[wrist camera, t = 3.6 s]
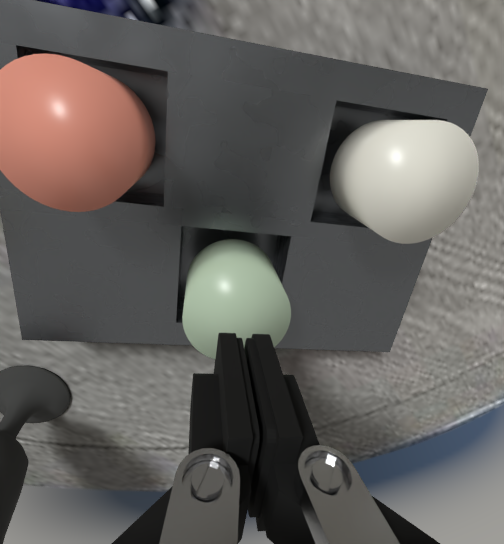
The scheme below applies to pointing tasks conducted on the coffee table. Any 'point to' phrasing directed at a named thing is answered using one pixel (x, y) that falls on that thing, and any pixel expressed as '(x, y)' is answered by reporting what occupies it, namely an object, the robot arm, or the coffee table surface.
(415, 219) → the button ivory
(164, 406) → the coffee table surface
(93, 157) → the button coral
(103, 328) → the panel
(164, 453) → the coffee table surface
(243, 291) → the button sage
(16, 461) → the sundae
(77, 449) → the coffee table surface
